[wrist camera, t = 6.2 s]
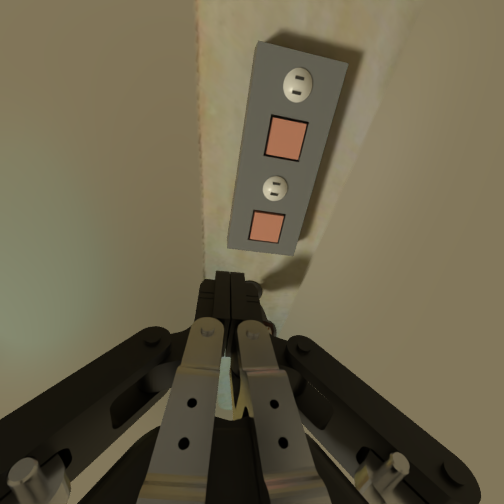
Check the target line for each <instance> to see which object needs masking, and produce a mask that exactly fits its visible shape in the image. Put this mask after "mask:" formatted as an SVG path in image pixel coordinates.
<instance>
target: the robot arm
mask: <svg viewBox="0 0 504 504" xmlns="http://www.w3.org/2000/svg"><path fill="white" fill-rule="evenodd" d="M224 353H225V357H231V365H230V370H229V376H230V387H231V398H232V410H233V421H229V420H225V419H222V418H218V417H215V408H216V400H217V391H218V382H219V374H220V363H221V357H224ZM169 388H171V392H170V395H169V399H168V402H167V405H166V409H165V412H164V416H163V419H162V423H161V426H158V427H156V428H155V429H153V430H151V431H149V432H148V433H146V434H145V435H144V436H142V437H141V438H140V439H139V440H137V441H136V442H135V443H134V444H133V445H132V446H131V447H130V448H129V449H128V450H127V452H126V453H125V454H124V455H123V456H122V457H121V458H120V459H119V460H118V461H117V462H116V463H115V464H114V465H113V466H112V467H111V468H110V469H109V471H108V472H107V473H106V474H105V475H104V476H103V477H102V478H101V479H100V480H99V481H98V482H97V483H96V484H95V485H94V486H93V488H92V489H91V490H90V491H89V492H88V493H87V494H86V495H85V496H84V497H83V498H82V499H81V500H80V501H79V502H78V503H77V504H479V502H480V500H481V491H480V488H479V485H478V483H477V481H476V479H475V477H474V475H473V474H472V472H471V471H470V470H469V468H468V467H467V466H466V465H465V464H464V463H463V462H462V461H461V460H460V459H459V458H458V457H457V456H455V455H454V454H453V453H452V452H450V451H449V450H448V449H447V448H446V447H444V446H443V445H442V444H440V443H439V442H438V441H437V440H436V439H434V438H433V437H431V436H430V435H429V434H428V433H427V432H426V431H424V430H423V429H422V428H421V427H419V426H418V425H417V424H416V423H414V422H413V421H412V420H411V419H409V418H408V417H407V416H406V415H404V414H403V413H402V412H401V411H399V410H398V409H397V408H396V407H395V406H393V405H392V404H391V403H389V402H388V401H387V400H386V399H384V398H383V397H382V396H381V395H379V394H378V393H377V392H376V391H374V390H373V389H372V388H371V387H370V386H368V385H367V384H366V383H365V382H363V381H362V380H361V379H360V378H358V377H357V376H356V375H355V374H354V373H352V372H351V371H350V370H349V369H347V368H346V367H345V366H343V365H342V364H341V363H340V362H339V361H337V360H336V359H335V358H334V357H332V356H331V355H330V354H329V353H327V352H326V351H325V350H324V349H322V348H321V347H320V346H319V345H317V344H316V343H315V342H314V341H312V340H311V339H309V338H308V337H305V336H301V335H296V336H292V337H291V338H289V340H288V341H286V340H283V339H280V338H277V337H275V336H273V335H271V334H270V333H269V331H268V329H267V327H266V326H265V325H264V324H263V319H262V313H261V307H260V301H259V295H258V289H257V288H256V287H255V285H254V284H253V283H245V277H244V273H237V272H226V271H216V276H215V280H211V279H205V280H204V281H203V282H202V283H201V284H200V289H199V296H198V302H197V309H196V315H195V320H194V323H193V324H192V325H191V327H189V328H188V329H186V330H184V331H182V332H178V333H173V334H170V332H169V331H168V330H167V329H165V328H162V327H157V326H155V327H148V328H145V329H143V330H141V331H139V332H138V333H136V334H135V335H133V336H132V337H130V338H129V339H127V340H125V341H124V342H122V343H121V344H119V345H117V346H116V347H114V348H113V349H111V350H110V351H108V352H106V353H105V354H103V355H102V356H100V357H98V358H97V359H95V360H94V361H92V362H91V363H89V364H87V365H86V366H84V367H83V368H81V369H80V370H78V371H77V372H75V373H73V374H72V375H70V376H68V377H67V378H65V379H64V380H62V381H61V382H59V383H57V384H56V385H54V386H53V387H51V388H49V389H48V390H46V391H45V392H43V393H42V394H40V395H38V396H37V397H35V398H34V399H32V400H31V401H29V402H27V403H26V404H24V405H23V406H21V407H20V408H18V409H17V410H15V411H13V412H12V413H10V414H9V415H7V416H5V417H4V418H2V419H1V420H0V504H67V502H68V499H69V496H70V492H71V483H70V482H71V481H72V480H74V479H75V478H76V477H77V476H78V475H79V474H80V473H81V472H82V471H83V470H84V469H85V468H86V467H88V466H89V465H90V464H91V463H92V462H93V461H94V460H95V459H96V458H97V457H98V456H99V455H100V454H101V453H103V452H104V451H105V450H106V449H107V448H108V447H109V446H110V445H111V444H112V443H113V442H114V441H115V440H117V439H118V438H119V437H120V436H121V435H122V434H123V433H124V432H125V431H126V430H127V429H128V428H129V427H131V426H132V425H133V424H134V423H135V422H136V421H137V420H138V419H139V418H140V417H141V416H142V415H143V414H144V413H146V412H147V411H148V410H149V409H150V408H151V407H152V406H153V405H154V404H155V403H156V402H157V401H158V400H160V399H161V398H162V397H163V396H164V395H165V394H166V393H167V391H168V390H169ZM315 388H316V389H317V390H318V391H319V392H318V391H317V390H316V389H315ZM302 424H303V425H304V426H305V427H306V428H307V429H308V430H309V431H310V432H311V433H312V434H313V435H314V437H315V438H316V439H317V440H318V441H319V442H320V443H321V444H322V445H323V446H324V447H325V448H326V449H327V450H328V452H329V453H330V454H331V455H332V456H333V457H334V458H335V459H336V460H337V461H338V462H339V463H340V464H341V465H342V467H343V468H344V469H345V470H346V471H347V472H348V473H349V474H350V475H351V476H352V477H353V478H354V481H355V487H354V485H353V484H352V483H351V482H350V481H349V480H348V479H347V477H346V476H345V475H344V474H343V473H342V472H341V470H340V469H339V468H338V467H337V466H336V465H335V464H334V462H333V461H332V460H331V459H330V458H329V457H328V456H327V454H326V453H325V452H324V451H323V450H322V449H321V448H320V447H319V445H318V444H317V443H316V442H315V441H314V440H313V439H312V438H311V437H310V436H309V435H308V434H306V433H305V432H304V429H303V425H302Z"/></svg>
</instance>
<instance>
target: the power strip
mask: <svg viewBox="0 0 504 504" xmlns="http://www.w3.org/2000/svg"><path fill="white" fill-rule="evenodd" d="M348 64H349V63H345V62H341V61H337V60H333V59H329V58H325V57H321V56H317V55H313V54H309V53H305V52H301V51H297V50H293V49H289V48H286V47H282V46H278V45H274V44H270V43H266V42H262V41H258V43H257V45H256V47H255V52H254V59H253V65H252V72H251V79H250V86H249V93H248V100H247V106H246V113H245V120H244V127H243V134H242V140H241V147H240V154H239V161H238V168H237V175H236V181H235V188H234V195H233V202H232V209H231V215H230V222H229V229H228V236H227V248H229V249H238V250H246V251H254V252H263V253H271V254H280V255H288V256H294V252H295V249H296V245H297V242H298V238H299V235H300V231H301V228H302V224H303V221H304V218H305V214H306V211H307V207H308V204H309V200H310V197H311V193H312V190H313V186H314V183H315V179H316V176H317V172H318V169H319V165H320V162H321V158H322V155H323V151H324V148H325V144H326V141H327V137H328V134H329V130H330V127H331V123H332V120H333V116H334V113H335V109H336V106H337V102H338V99H339V95H340V92H341V88H342V85H343V81H344V78H345V74H346V71H347V68H348ZM271 117H274V118H279V119H284V120H288V121H293V122H298V123H303V124H307V125H306V129H305V134H304V138H303V142H302V146H301V150H300V154H299V158H298V160H296V159H291V158H285V157H279V156H274V155H268V154H266V153H265V152H264V150H265V145H266V139H267V134H268V129H269V123H270V118H271ZM253 209H254V210H261V211H268V212H275V213H282V214H283V216H284V218H283V222H282V226H281V230H280V234H279V238H278V242H270V241H262V240H254V239H250V236H249V230H250V225H251V219H252V214H253Z"/></svg>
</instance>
